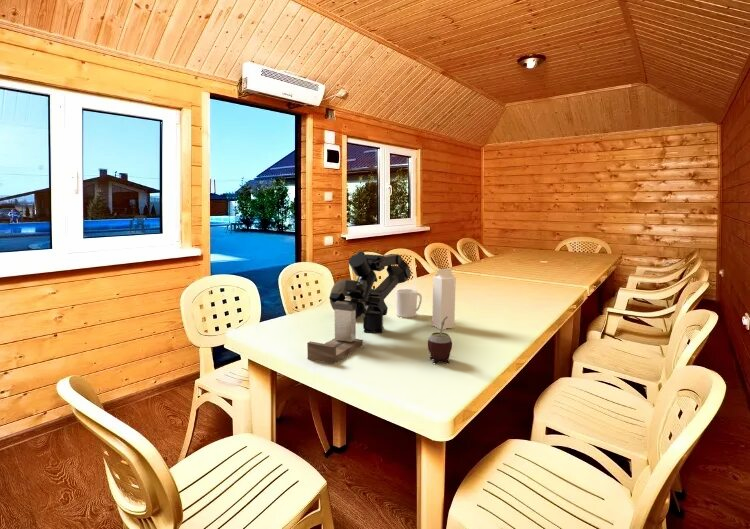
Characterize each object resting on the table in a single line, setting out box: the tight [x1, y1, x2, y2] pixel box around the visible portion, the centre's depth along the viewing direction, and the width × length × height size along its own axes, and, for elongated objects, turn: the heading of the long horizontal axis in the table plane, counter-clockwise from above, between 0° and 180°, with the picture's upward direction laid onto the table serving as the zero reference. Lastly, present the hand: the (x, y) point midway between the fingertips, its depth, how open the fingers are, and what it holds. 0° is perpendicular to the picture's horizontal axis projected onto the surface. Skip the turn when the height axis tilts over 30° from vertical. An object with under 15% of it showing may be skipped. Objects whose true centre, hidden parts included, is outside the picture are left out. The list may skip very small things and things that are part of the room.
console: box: [307, 337, 364, 365], centre depth 135 cm, size 18×9×5 cm, turn 153°
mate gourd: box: [427, 317, 453, 364], centre depth 127 cm, size 8×8×15 cm
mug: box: [395, 288, 423, 319], centre depth 178 cm, size 11×9×10 cm
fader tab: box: [332, 301, 357, 342], centre depth 139 cm, size 3×7×12 cm, turn 63°
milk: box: [431, 268, 457, 330], centre depth 161 cm, size 6×6×22 cm
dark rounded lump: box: [329, 278, 356, 312], centre depth 178 cm, size 14×14×15 cm
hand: (347, 323), depth 141 cm, fingers closed, pressing on fader tab
